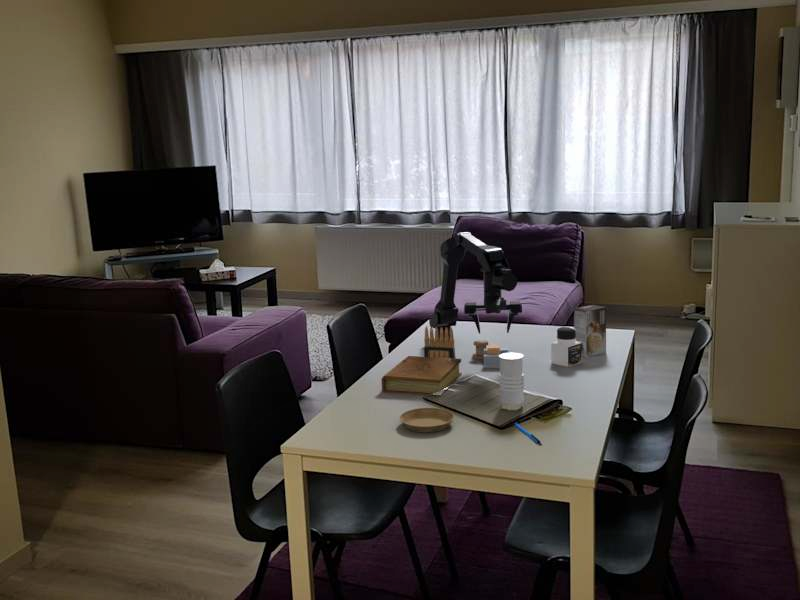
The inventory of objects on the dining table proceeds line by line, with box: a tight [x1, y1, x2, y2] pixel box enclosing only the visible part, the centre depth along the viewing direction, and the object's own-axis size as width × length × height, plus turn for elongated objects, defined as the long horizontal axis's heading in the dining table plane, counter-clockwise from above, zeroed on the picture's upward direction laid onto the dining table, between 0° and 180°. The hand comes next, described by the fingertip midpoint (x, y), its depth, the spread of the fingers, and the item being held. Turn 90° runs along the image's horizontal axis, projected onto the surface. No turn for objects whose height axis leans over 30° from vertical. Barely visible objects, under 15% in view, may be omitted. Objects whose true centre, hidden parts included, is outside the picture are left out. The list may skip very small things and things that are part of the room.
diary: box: [381, 355, 462, 396], centre depth 266 cm, size 23×19×6 cm
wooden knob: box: [471, 339, 489, 361], centre depth 291 cm, size 6×6×6 cm
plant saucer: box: [399, 407, 455, 433], centre depth 229 cm, size 15×15×3 cm
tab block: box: [486, 344, 501, 355], centre depth 283 cm, size 4×4×5 cm
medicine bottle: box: [550, 326, 583, 368], centre depth 280 cm, size 7×7×12 cm
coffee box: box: [573, 304, 607, 358], centre depth 290 cm, size 9×6×16 cm
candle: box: [498, 352, 525, 404], centre depth 239 cm, size 7×7×15 cm
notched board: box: [483, 348, 509, 369], centre depth 283 cm, size 9×8×4 cm
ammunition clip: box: [423, 325, 456, 358], centre depth 289 cm, size 11×2×12 cm, turn 70°
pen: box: [514, 422, 543, 446], centre depth 220 cm, size 1×19×1 cm, turn 16°
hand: (493, 333), depth 281 cm, fingers open, 9 cm apart
